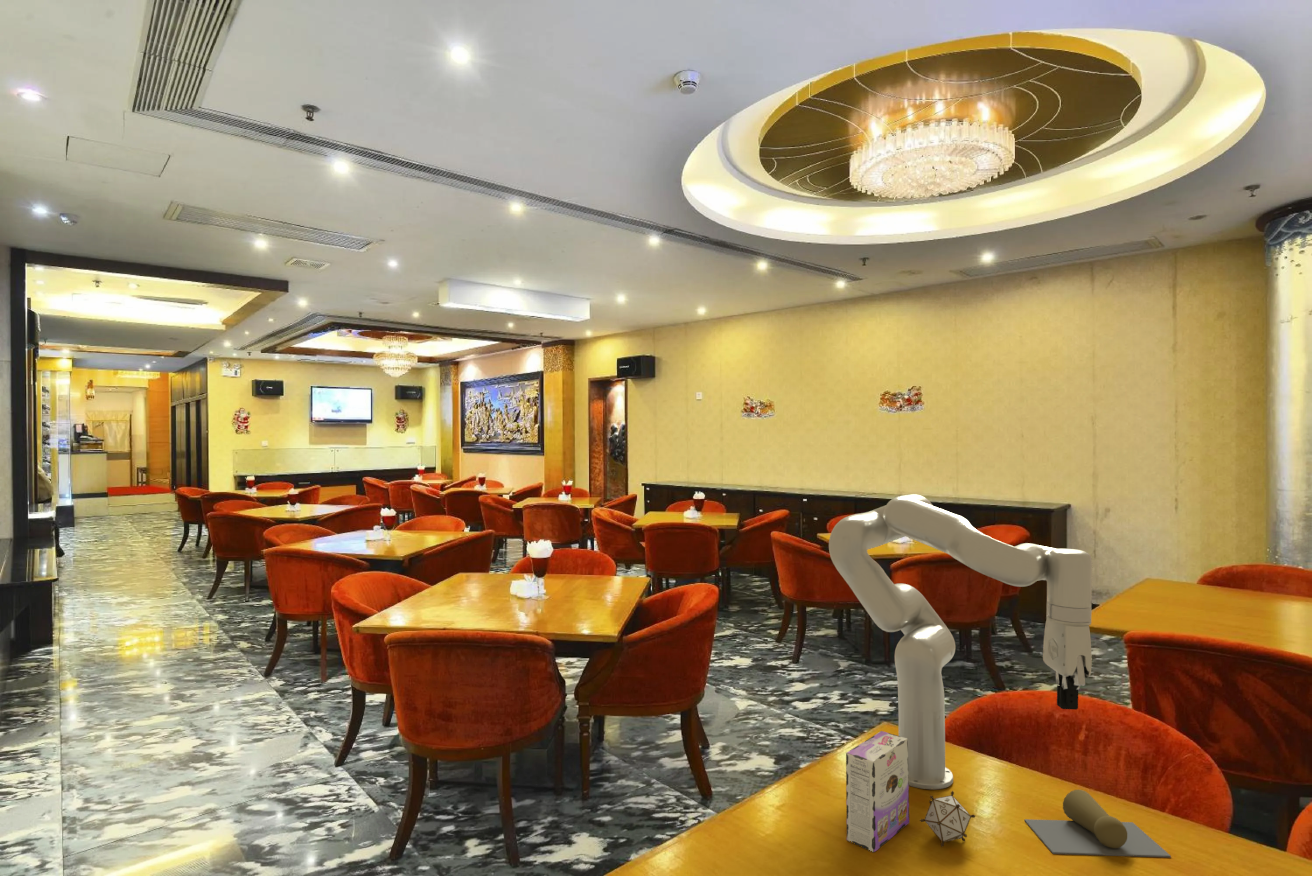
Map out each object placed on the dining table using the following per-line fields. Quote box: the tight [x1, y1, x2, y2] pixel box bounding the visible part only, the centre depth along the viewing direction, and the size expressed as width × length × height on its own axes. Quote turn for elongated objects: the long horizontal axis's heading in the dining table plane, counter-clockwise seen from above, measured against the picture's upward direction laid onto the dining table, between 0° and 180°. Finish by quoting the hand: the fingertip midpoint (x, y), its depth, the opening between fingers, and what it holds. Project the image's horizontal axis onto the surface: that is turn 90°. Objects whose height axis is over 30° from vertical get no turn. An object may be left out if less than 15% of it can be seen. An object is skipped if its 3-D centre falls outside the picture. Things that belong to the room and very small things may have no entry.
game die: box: [919, 790, 976, 848], centre depth 130 cm, size 9×8×10 cm
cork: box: [1062, 789, 1127, 848], centre depth 130 cm, size 6×6×11 cm
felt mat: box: [1024, 818, 1172, 858], centre depth 130 cm, size 20×11×1 cm, turn 86°
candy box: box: [845, 730, 910, 853], centre depth 132 cm, size 14×6×16 cm, turn 135°
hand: (1067, 707), depth 137 cm, fingers closed
